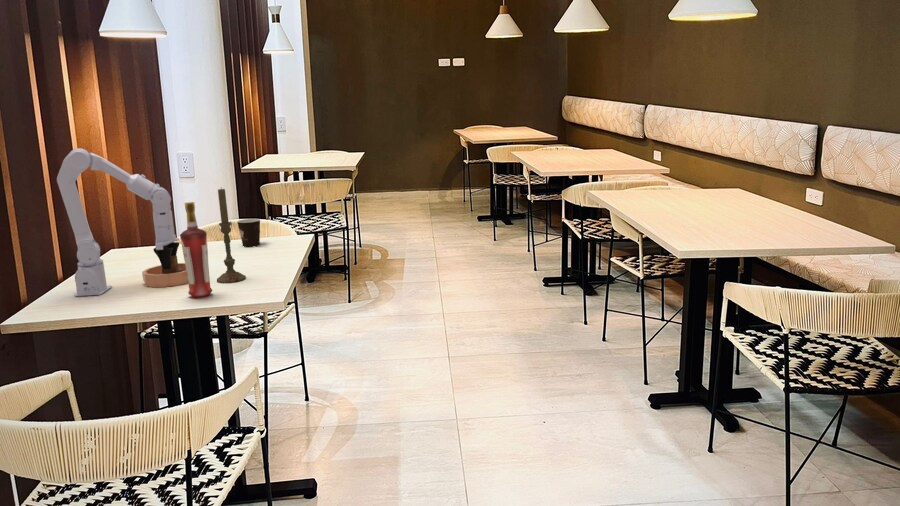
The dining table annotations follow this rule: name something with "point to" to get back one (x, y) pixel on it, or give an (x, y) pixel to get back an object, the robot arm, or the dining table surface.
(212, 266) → the dining table surface
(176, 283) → the faceted copper bowl
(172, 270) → the brown rectangular block
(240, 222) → the coffee mug
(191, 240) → the liquor
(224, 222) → the candlestick holder
